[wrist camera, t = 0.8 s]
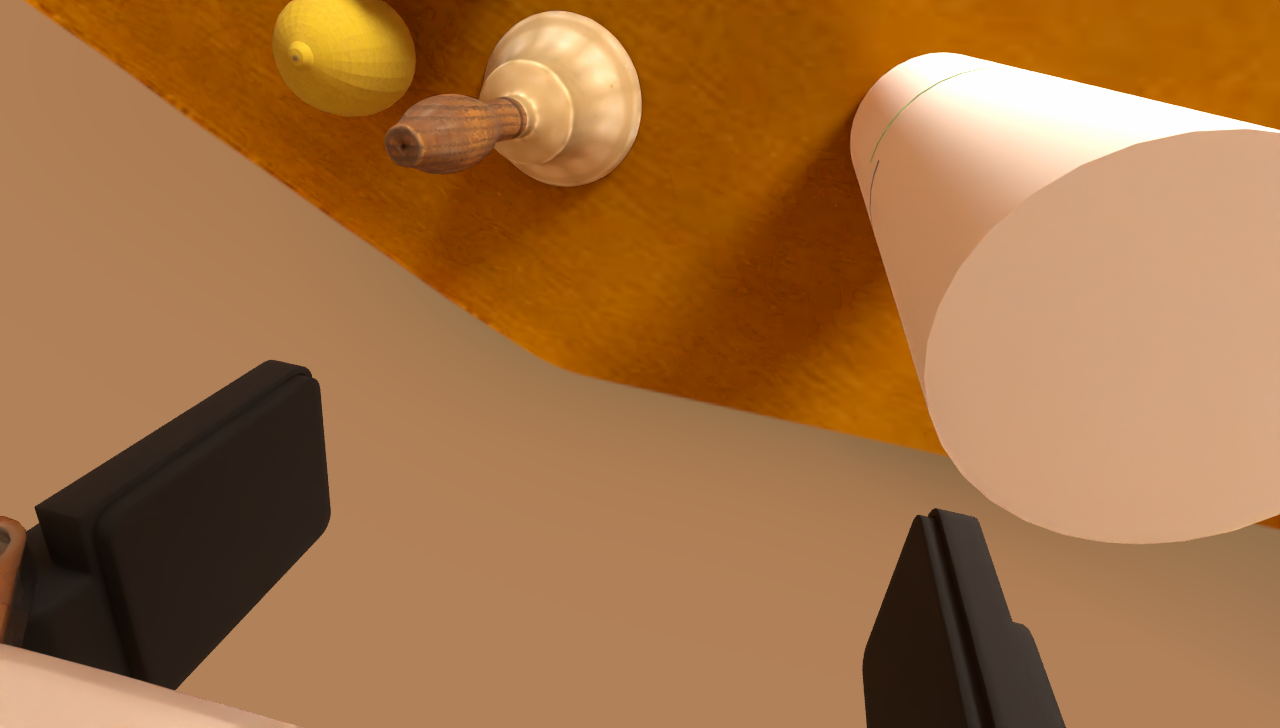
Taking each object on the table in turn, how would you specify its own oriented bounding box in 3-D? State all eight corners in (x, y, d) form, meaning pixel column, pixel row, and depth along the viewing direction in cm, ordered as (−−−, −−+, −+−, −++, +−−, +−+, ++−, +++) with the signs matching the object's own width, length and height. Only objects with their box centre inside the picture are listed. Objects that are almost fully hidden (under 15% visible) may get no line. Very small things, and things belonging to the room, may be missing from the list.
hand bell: (452, 86, 37) (235, 128, 23) (569, -30, 34) (398, -64, 20) (554, 216, 39) (411, 328, 25) (675, 119, 36) (589, 185, 22)
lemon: (335, 82, 38) (229, 96, 31) (352, -29, 36) (240, -41, 29) (430, 124, 38) (344, 147, 31) (454, 15, 36) (367, 14, 29)
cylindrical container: (840, 208, 36) (893, 515, 14) (861, 51, 33) (971, 119, 11) (995, 217, 34) (1328, 571, 12) (1031, 54, 31) (1561, 139, 9)
